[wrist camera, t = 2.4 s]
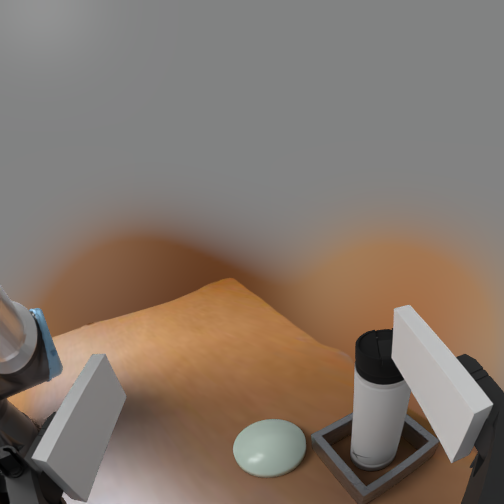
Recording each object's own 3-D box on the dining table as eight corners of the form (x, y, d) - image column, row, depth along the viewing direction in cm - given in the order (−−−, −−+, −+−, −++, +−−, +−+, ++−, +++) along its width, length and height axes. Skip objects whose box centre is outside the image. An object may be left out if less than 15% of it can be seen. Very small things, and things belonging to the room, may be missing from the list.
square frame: (312, 448, 37) (311, 434, 36) (380, 409, 41) (382, 394, 39) (360, 507, 26) (363, 496, 25) (433, 455, 30) (439, 440, 29)
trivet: (225, 439, 41) (223, 434, 41) (286, 414, 44) (285, 409, 44) (250, 488, 32) (248, 484, 32) (319, 457, 35) (319, 453, 35)
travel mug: (349, 475, 31) (356, 364, 25) (350, 437, 37) (353, 321, 31) (397, 471, 30) (426, 357, 23) (394, 433, 36) (412, 316, 29)
